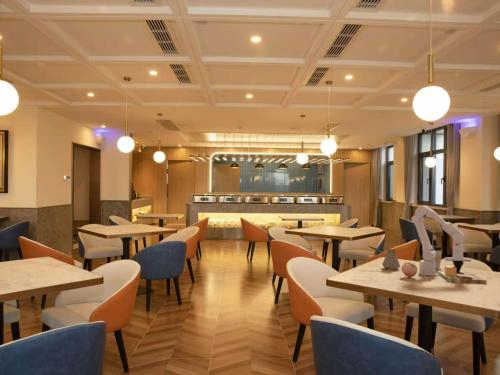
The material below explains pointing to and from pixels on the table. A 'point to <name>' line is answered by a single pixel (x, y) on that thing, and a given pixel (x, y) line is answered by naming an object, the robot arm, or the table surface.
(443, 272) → the trap board
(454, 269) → the block
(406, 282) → the table surface
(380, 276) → the table surface
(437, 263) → the coffee cup
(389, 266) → the coffee pot
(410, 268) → the decorative fruit
